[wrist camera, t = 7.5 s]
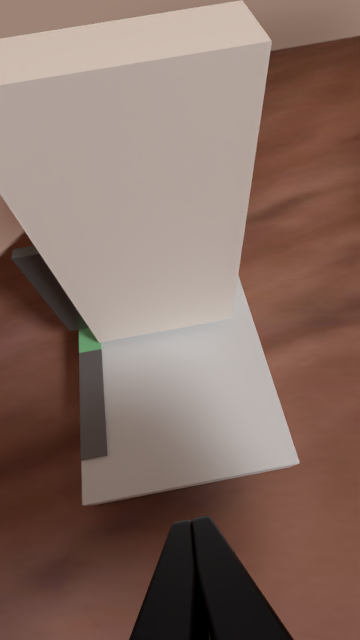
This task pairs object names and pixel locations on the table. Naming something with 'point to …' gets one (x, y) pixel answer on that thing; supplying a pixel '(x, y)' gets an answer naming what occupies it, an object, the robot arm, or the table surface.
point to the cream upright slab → (134, 164)
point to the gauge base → (178, 409)
